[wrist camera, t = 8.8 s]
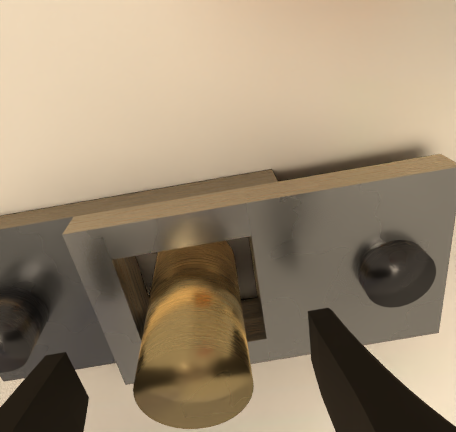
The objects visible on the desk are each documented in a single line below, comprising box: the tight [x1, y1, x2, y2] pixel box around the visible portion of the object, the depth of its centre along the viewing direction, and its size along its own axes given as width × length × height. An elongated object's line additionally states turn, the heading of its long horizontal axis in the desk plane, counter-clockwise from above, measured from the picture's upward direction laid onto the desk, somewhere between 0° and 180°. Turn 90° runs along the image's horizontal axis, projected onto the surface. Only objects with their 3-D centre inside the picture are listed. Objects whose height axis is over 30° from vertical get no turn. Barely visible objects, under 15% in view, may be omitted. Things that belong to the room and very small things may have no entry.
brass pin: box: [133, 241, 253, 429], centre depth 13 cm, size 3×3×6 cm
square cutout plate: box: [0, 154, 456, 385], centre depth 14 cm, size 18×7×3 cm, turn 99°
